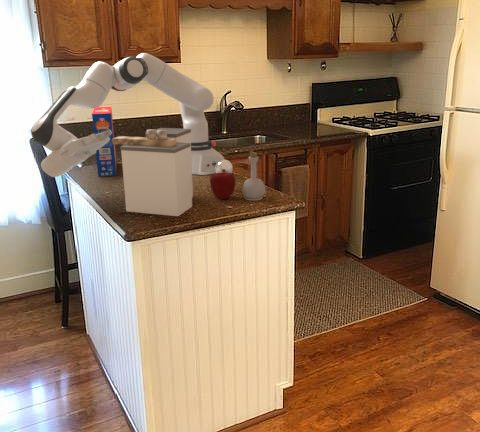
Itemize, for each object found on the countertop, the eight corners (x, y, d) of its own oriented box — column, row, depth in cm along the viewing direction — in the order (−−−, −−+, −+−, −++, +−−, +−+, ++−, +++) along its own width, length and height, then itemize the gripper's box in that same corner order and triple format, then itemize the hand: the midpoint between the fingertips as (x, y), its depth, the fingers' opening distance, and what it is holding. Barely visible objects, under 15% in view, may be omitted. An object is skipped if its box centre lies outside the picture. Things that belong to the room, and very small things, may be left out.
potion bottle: (241, 195, 202) (240, 149, 196) (263, 194, 202) (263, 148, 197) (243, 201, 193) (242, 153, 188) (266, 201, 194) (267, 153, 189)
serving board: (112, 144, 182) (111, 129, 180) (121, 141, 187) (119, 127, 185) (169, 147, 175) (168, 132, 173) (176, 144, 180) (176, 129, 178)
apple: (210, 194, 203) (209, 169, 200) (235, 194, 204) (234, 169, 201) (210, 201, 194) (209, 175, 191) (236, 201, 195) (235, 174, 192)
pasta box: (116, 175, 237) (110, 113, 228) (98, 176, 235) (91, 113, 227) (116, 163, 263) (111, 106, 255) (100, 163, 261) (94, 107, 253)
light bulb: (235, 187, 214) (234, 158, 210) (229, 191, 208) (229, 161, 204) (219, 186, 216) (218, 157, 212) (213, 190, 210) (212, 160, 206)
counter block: (125, 211, 184) (119, 137, 176) (157, 193, 206) (153, 127, 198) (178, 216, 178) (174, 140, 170) (205, 197, 200) (203, 129, 192)
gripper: (53, 148, 181) (80, 129, 175) (88, 139, 200) (113, 121, 194) (62, 164, 182) (90, 146, 176) (96, 153, 200) (122, 136, 194)
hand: (102, 133), depth 185 cm, fingers open, 8 cm apart
